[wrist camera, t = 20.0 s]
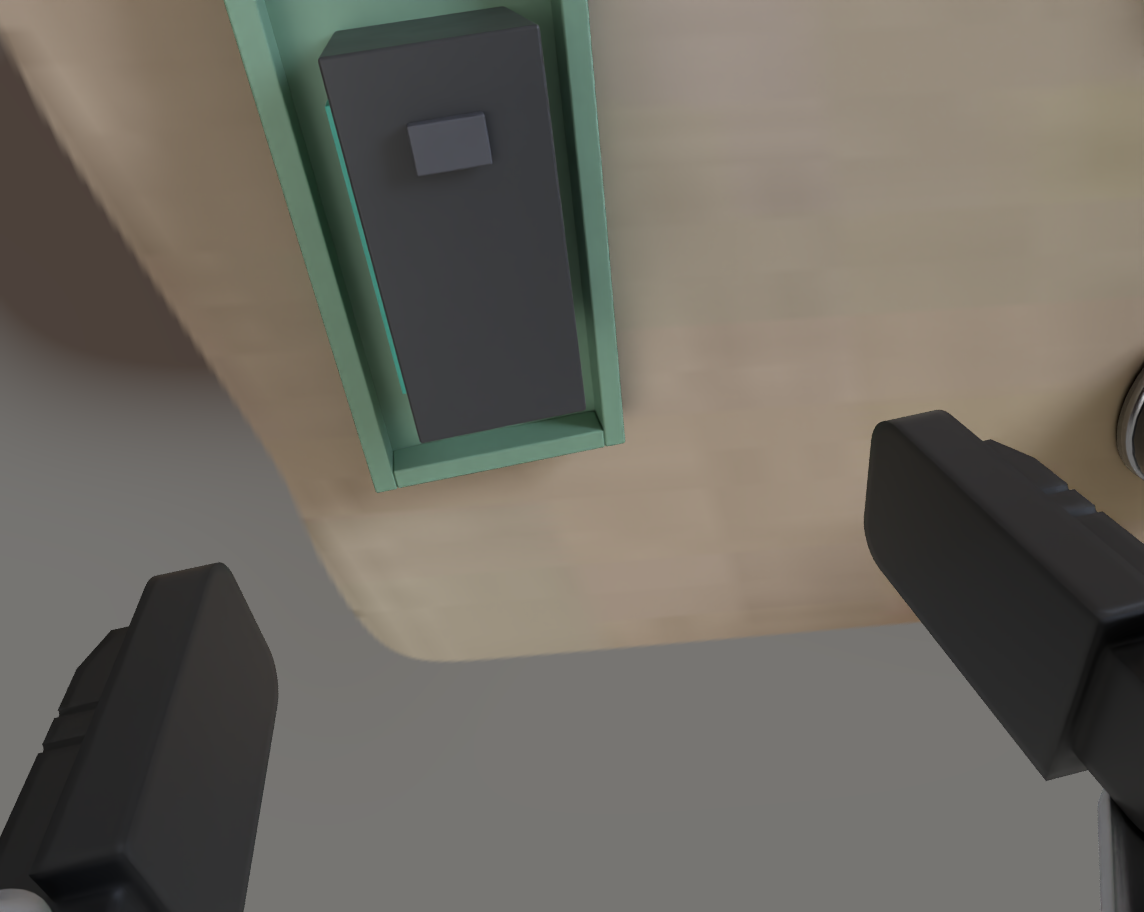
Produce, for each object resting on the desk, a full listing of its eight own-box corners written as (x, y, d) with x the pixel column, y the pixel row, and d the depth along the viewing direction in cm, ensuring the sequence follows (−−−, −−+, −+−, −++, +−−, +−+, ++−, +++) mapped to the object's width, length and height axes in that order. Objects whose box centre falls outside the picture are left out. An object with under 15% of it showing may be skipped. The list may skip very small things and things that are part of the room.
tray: (553, -219, 18) (568, -234, 17) (612, 415, 28) (625, 443, 27) (184, -177, 18) (164, -189, 16) (376, 462, 27) (376, 493, 26)
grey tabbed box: (407, 352, 25) (412, 454, 20) (325, 32, 20) (303, 61, 15) (551, 325, 25) (590, 418, 20) (505, 5, 20) (542, 25, 15)
